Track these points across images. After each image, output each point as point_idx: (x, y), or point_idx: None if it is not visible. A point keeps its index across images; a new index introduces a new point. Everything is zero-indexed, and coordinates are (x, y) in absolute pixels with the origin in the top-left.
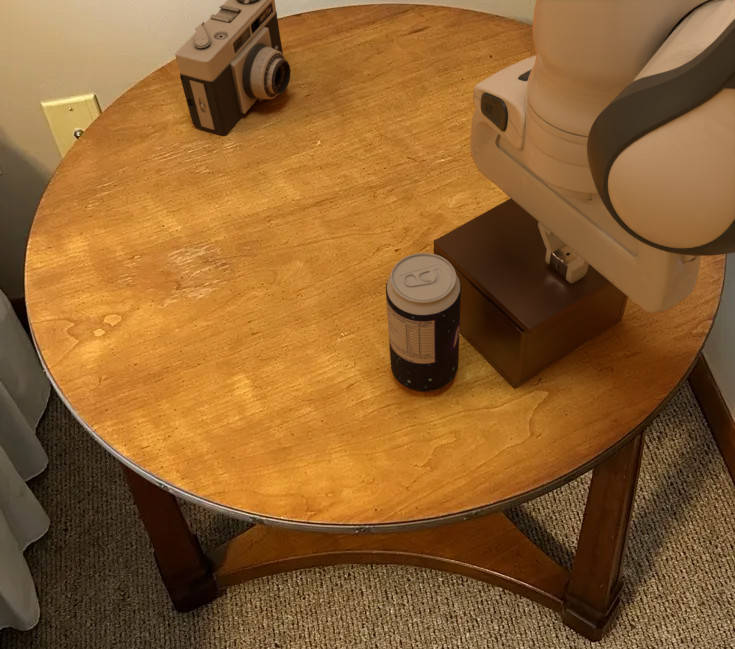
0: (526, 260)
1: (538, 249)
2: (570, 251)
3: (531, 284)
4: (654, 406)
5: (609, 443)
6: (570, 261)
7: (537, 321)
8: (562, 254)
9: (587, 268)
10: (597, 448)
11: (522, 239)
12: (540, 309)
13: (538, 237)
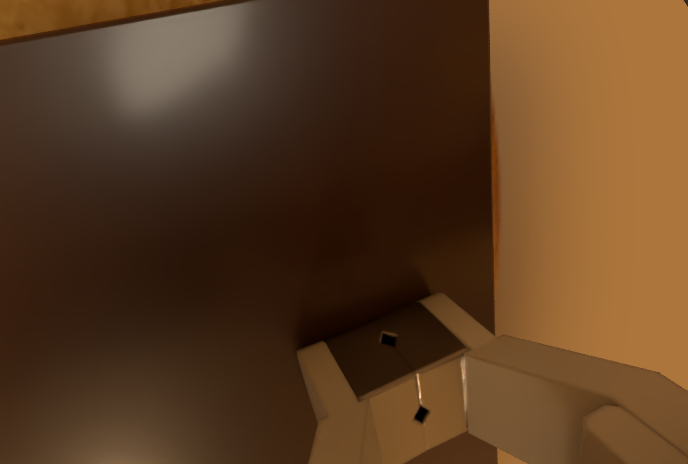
0: (257, 457)
1: (218, 412)
2: (412, 400)
3: None
4: (491, 92)
5: (499, 205)
6: (460, 413)
7: (489, 456)
8: (412, 437)
9: (461, 308)
10: (496, 226)
11: (125, 459)
12: (464, 445)
13: (137, 398)
